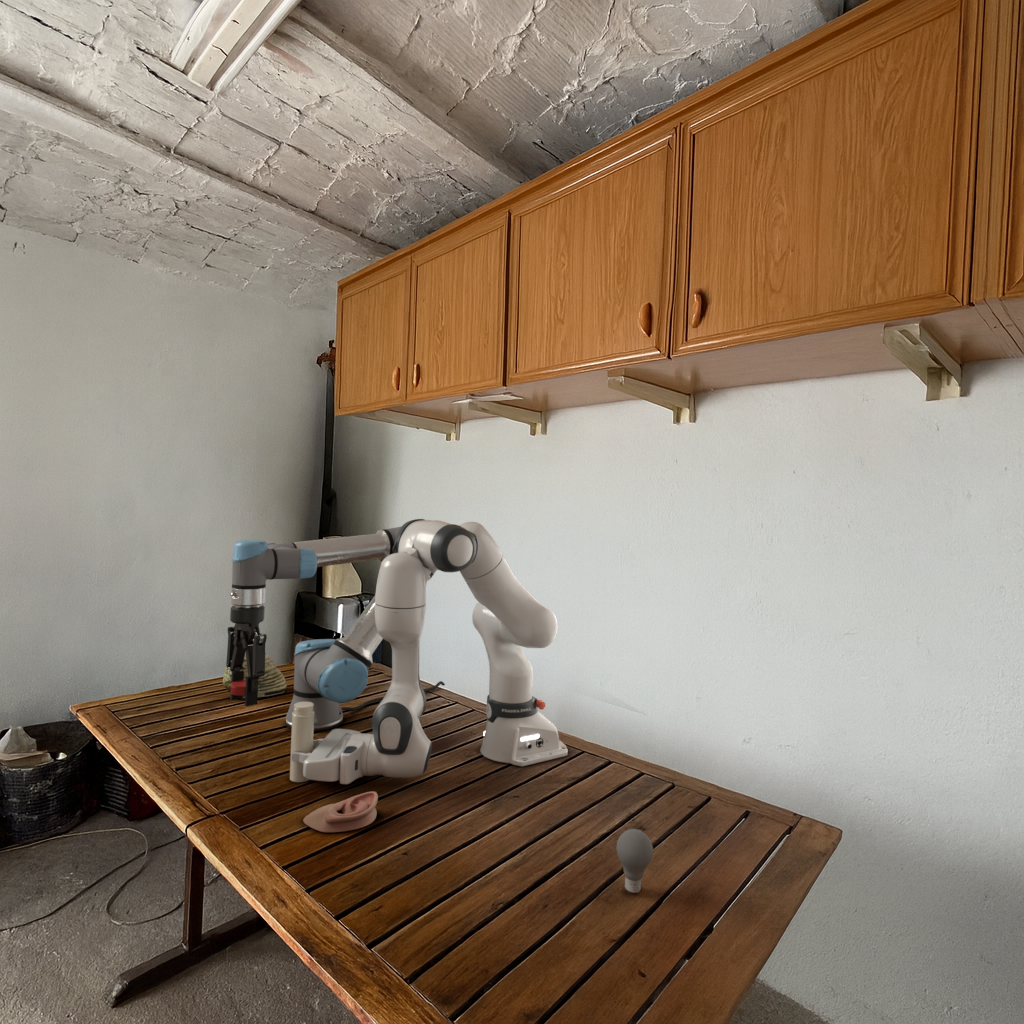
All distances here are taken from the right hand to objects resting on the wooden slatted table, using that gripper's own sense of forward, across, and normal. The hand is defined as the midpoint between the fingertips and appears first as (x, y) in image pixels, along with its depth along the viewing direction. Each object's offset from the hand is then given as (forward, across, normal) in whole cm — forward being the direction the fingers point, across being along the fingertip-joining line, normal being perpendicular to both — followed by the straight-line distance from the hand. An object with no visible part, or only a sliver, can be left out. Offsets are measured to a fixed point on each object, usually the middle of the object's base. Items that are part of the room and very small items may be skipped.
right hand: (297, 750), depth 142 cm
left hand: (+17, -9, -7) cm, 20 cm away
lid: (+17, -8, -12) cm, 22 cm away
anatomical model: (-15, +17, +6) cm, 24 cm away
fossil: (+34, -54, +6) cm, 65 cm away
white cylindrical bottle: (-1, 0, +6) cm, 6 cm away
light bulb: (-70, +34, +6) cm, 78 cm away
